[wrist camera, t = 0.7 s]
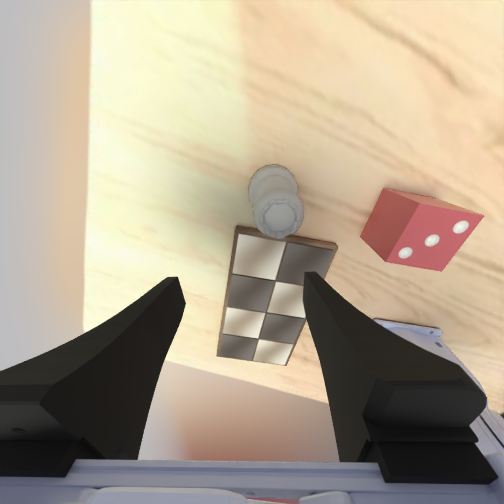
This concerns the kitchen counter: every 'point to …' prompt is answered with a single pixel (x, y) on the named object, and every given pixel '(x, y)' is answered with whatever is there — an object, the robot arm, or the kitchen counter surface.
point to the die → (417, 229)
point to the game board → (268, 294)
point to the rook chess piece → (275, 201)
